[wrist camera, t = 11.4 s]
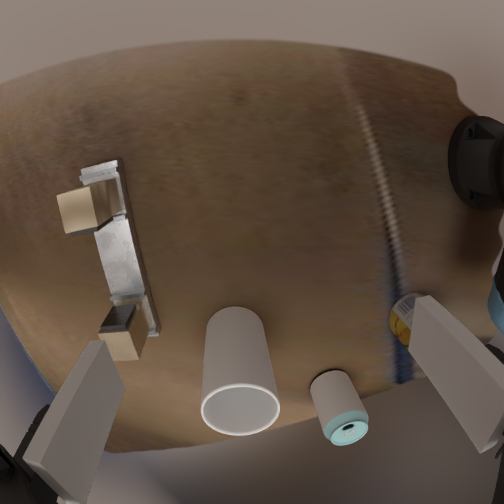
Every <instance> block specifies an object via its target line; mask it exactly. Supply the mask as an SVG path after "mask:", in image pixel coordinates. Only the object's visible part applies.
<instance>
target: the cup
mask: <svg viewBox="0 0 504 504" xmlns="http://www.w3.org/2000/svg"><path fill="white" fill-rule="evenodd" d="M279 412H280V404H279V399H278V394H277V389H276V385H275V380H274V375H273V370H272V366H271V361H270V356H269V352H268V347H267V342H266V337H265V333H264V328H263V324H262V321H261V319H260V318H259V317H258V315H257V314H255V313H254V312H253V311H251V310H249V309H247V308H243V307H227V308H224V309H221V310H219V311H218V312H216V313H215V314H214V315H213V316H212V317H211V318H210V320H209V321H208V324H207V327H206V339H205V352H204V366H203V380H202V396H201V414H202V418H203V420H204V421H205V423H206V424H207V425H208V426H210V427H211V428H212V429H214V430H216V431H218V432H221V433H224V434H228V435H249V434H254V433H257V432H260V431H262V430H264V429H266V428H268V427H269V426H270V425H272V424H273V423H274V422H275V420H276V419H277V417H278V415H279Z"/></svg>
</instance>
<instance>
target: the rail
mask: <svg viewBox="0 0 504 504" xmlns="http://www.w3.org/2000/svg"><path fill="white" fill-rule="evenodd" d="M81 173H82V176H79V177H80V181H82V180H83V184H84V186H85V185H88V184H92V183H96V182H100V181H104V180H108V179H112V178H116V182H117V187H118V192H119V197H120V202H121V206H122V210H121V211H119V212H118V213H117V214H115V215H114V216H113V219H114V220H113V221H111V222H110V223H109V224H107V225H106V226H104V227H103V228H102V229H100V230H99V231H98V232H94V235H95V239H96V243H97V246H98V250H99V254H100V258H101V261H102V265H103V268H104V272H105V275H106V279H107V282H108V285H109V289H110V292H111V295H110V300H111V301H114V304H115V306H113V307H112V309H111V310H110V312H109V313H108V315H107V317H106V318H105V320H104V322H103V323H102V325H101V329H100V331H99V333H98V336H99V338H100V340H105V342H106V344H107V347H108V349H109V352H110V354H111V357H112V359H113V361H126V360H139V359H140V356H141V353H142V350H143V347H144V344H145V341H146V339H147V337H153V336H159V334H160V331H161V326H160V323H159V320H158V316H157V313H156V309H155V306H154V302H153V299H152V295H151V292H150V288H149V284H148V280H147V277H146V273H145V269H144V265H143V261H142V257H141V253H140V248H139V244H138V240H137V236H136V231H135V226H134V222H133V217H132V212H131V207H130V202H129V197H128V192H127V187H126V181H125V176H124V170H123V164H122V159H120V160H115V161H111V162H107V163H103V164H99V165H95V166H91V167H88V168H84V169H81Z"/></svg>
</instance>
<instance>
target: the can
mask: <svg viewBox="0 0 504 504" xmlns="http://www.w3.org/2000/svg"><path fill="white" fill-rule="evenodd" d="M310 393H311V396H312V399H313V402H314V405H315V408H316V411H317V414H318V417H319V420H320V423H321V426H322V429H323V432H324V435H325V436H326V438H328V439H330V440H331V442H332V443H333V444H335V445H348V444H351V443H353V442H355V441H357V440H359V439H360V438H361V437H363V436H364V435H365V434H366V432H367V430H368V425H367V423H368V415H367V413H366V411H365V409H364V406H363V405H362V403H361V400H360V398H359V396H358V394H357V392H356V390H355V388H354V386H353V384H352V382H351V380H350V378H349V376H348V375H347V374H346V373H345V372H343V371H337V370H336V371H329V372H326V373H324V374H322V375H320V376H319V377H317V378H316V379H315V380H314V381H313V383H312V384H311V387H310Z"/></svg>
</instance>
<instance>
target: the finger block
mask: <svg viewBox="0 0 504 504" xmlns="http://www.w3.org/2000/svg"><path fill="white" fill-rule="evenodd" d="M57 200H58V204H59V209H60V213H61V217H62V221H63V225H64V229H65V233H69V232H71V235H72V237H74V236H78V235H83V234H88V233H93V232H98V231H99V230H100V229H102V228H103V227H104V226H106V225H107V224H109V223H110V222H111V221H113V220H114V219H113V216H114V215H115V214H117V213H118V212H119V211H121V210H122V206H121V202H120V197H119V192H118V187H117V182H116V178H112V179H108V180H104V181H100V182H96V183H92V184H88V185H85V186H82V187H79V188H76V189H73V190H70V191H68V192H65V193H62V194H59V195H57Z"/></svg>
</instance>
